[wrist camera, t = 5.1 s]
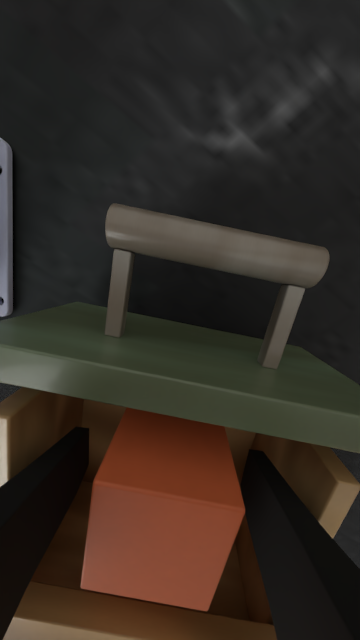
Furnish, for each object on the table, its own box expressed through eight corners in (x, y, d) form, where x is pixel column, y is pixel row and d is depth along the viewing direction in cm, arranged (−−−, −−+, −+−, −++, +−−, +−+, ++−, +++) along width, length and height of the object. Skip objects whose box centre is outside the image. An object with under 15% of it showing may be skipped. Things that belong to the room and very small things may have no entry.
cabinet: (66, 419, 14) (-83, 599, 6) (259, 457, 14) (346, 677, 7) (57, 545, 17) (-51, 770, 10) (215, 575, 18) (239, 819, 10)
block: (142, 371, 11) (91, 482, 5) (215, 385, 11) (247, 512, 5) (131, 436, 12) (78, 590, 6) (197, 448, 12) (208, 613, 6)
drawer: (82, 217, 10) (-74, 133, 4) (329, 269, 10) (534, 262, 4) (64, 468, 14) (-30, 615, 8) (243, 502, 14) (285, 672, 8)
